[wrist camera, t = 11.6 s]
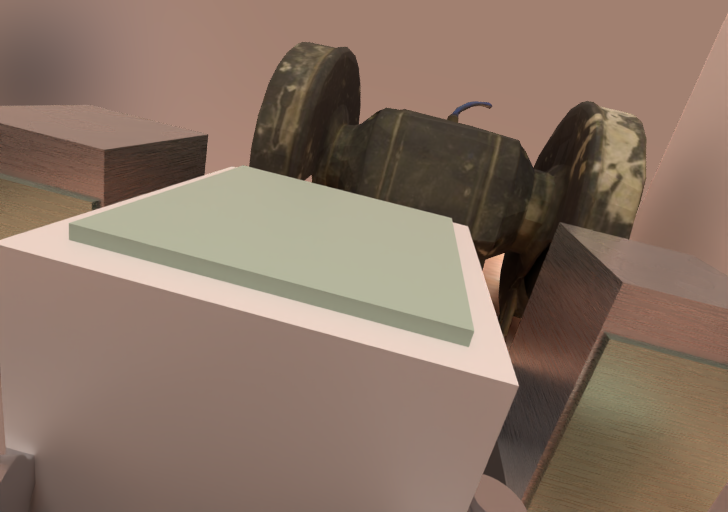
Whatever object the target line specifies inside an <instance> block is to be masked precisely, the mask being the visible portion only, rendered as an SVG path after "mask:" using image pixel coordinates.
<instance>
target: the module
mask: <svg viewBox="0 0 728 512" xmlns="http://www.w3.org/2000/svg"><path fill="white" fill-rule="evenodd" d="M0 373H1V387H2V401H3V415H4V430H5V444H6V447H7V448H10V449H13V450H17V451H20V452H24V453H28V454H32V455H34V457H35V480H36V484H35V487H34V490H33V493H32V497H31V502H30V508H29V512H467V511H468V508H469V506H470V503H471V501H472V499H473V496H474V494H475V491H476V489H477V487H478V484H479V482H480V479H481V477H482V474H483V472H484V470H485V467H486V465H487V462H488V460H489V457H490V455H491V453H492V450H493V448H494V445H495V443H496V441H497V438H498V436H499V433H500V431H501V428H502V426H503V424H504V421H505V419H506V416H507V414H508V411H509V409H510V407H511V404H512V402H513V399H514V397H515V395H516V392H517V390H518V387H519V384H518V381H517V378H516V375H515V372H514V369H513V366H512V362H511V359H510V356H509V353H508V350H507V347H506V344H505V341H504V337H503V334H502V331H501V328H500V325H499V322H498V319H497V316H496V312H495V309H494V306H493V303H492V300H491V297H490V294H489V291H488V287H487V284H486V281H485V278H484V275H483V272H482V269H481V266H480V262H479V259H478V256H477V253H476V250H475V247H474V244H473V241H472V237H471V234H470V231H469V228H468V226H465V225H461V224H457V223H453V222H452V218H449V217H445V216H441V215H437V214H433V213H429V212H425V211H422V210H418V209H414V208H410V207H406V206H402V205H398V204H394V203H390V202H386V201H382V200H378V199H374V198H370V197H366V196H362V195H358V194H354V193H350V192H346V191H342V190H339V189H335V188H331V187H327V186H323V185H319V184H315V183H311V182H306V181H303V180H299V179H295V178H291V177H287V176H283V175H279V174H275V173H271V172H267V171H263V170H259V169H256V168H252V167H248V166H241V167H238V168H236V167H229V168H226V169H223V170H220V171H216V172H213V173H210V174H207V175H204V176H201V177H197V178H194V179H191V180H188V181H185V182H182V183H178V184H175V185H172V186H169V187H166V188H163V189H160V190H156V191H153V192H150V193H147V194H144V195H141V196H137V197H134V198H131V199H128V200H125V201H122V202H118V203H115V204H112V205H109V206H106V207H103V208H99V209H96V210H93V211H90V212H87V213H84V214H80V215H77V216H74V217H71V218H68V219H65V220H61V221H58V222H55V223H52V224H49V225H46V226H43V227H39V228H36V229H33V230H30V231H27V232H24V233H20V234H17V235H14V236H11V237H8V238H5V239H1V240H0Z"/></svg>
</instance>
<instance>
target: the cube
mask: <svg viewBox="0 0 728 512" xmlns="http://www.w3.org/2000/svg"><path fill="white" fill-rule="evenodd" d="M629 240H633V241H637V242H641V243H645V244H649V245H653V246H657V247H661V248H665V249H669V250H673V251H677V252H681V253H685V254H689V255H693V256H695V257H697V258H698V259H700V260H702V261H703V262H705V263H707V264H709V265H710V266H712V267H714V268H715V269H717V270H719V271H720V272H722V273H724V274H725V275H727V276H728V13H727V16H726V18H725V20H724V22H723V24H722V26H721V29H720V31H719V33H718V35H717V38H716V40H715V42H714V44H713V47H712V49H711V51H710V53H709V55H708V57H707V60H706V62H705V64H704V66H703V68H702V71H701V73H700V75H699V77H698V80H697V82H696V84H695V86H694V88H693V91H692V93H691V95H690V97H689V99H688V102H687V104H686V107H685V108H684V111H683V113H682V115H681V117H680V119H679V122H678V124H677V126H676V128H675V130H674V133H673V135H672V137H671V139H670V142H669V144H668V146H667V148H666V151H665V153H664V155H663V157H662V159H661V161H660V164H659V166H658V168H657V170H656V173H655V175H654V177H653V180H652V181H651V184H650V186H649V188H648V190H647V192H646V195H645V197H644V199H643V201H642V204H641V206H640V208H639V210H638V213H637V215H636V217H635V220H634V224H633V228H632V231H631V235H630V239H629ZM708 512H728V482H727V484H726V485H725V487H724V488H723V490H722V491H721V493H720V494H719V496H718V497H717V498H716V500H715V501H714V503H713V504H712V506H711V507H710V509H709V510H708Z"/></svg>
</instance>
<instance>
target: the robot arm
mask: <svg viewBox="0 0 728 512" xmlns="http://www.w3.org/2000/svg"><path fill="white" fill-rule="evenodd" d="M35 484H36V480H35V457H34V455H32V454H28V453H24V452H20V451H17V450H13V449H10V448H7V447H6V444H5V430H4V415H3V401H2V387H1V373H0V512H29V508H30V502H31V497H32V493H33V490H34V487H35ZM467 512H527V510H526V508H525V506H524V504H523V503H522V501H521V500H520V499H519V498H518V496H517V495H516V494H515V493H514V492H513V491H512V490H511V489H509V488H508V487H507V486H506V481H505V476H504V471H503V466H502V461H501V456H500V451H499V446H498V442H497V441H496V443H495V445H494V448H493V450H492V453H491V455H490V457H489V460H488V462H487V465H486V467H485V470H484V472H483V474H482V477H481V479H480V482H479V484H478V487H477V489H476V491H475V494H474V496H473V499H472V501H471V503H470V506H469V508H468V511H467Z"/></svg>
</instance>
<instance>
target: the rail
mask: <svg viewBox="0 0 728 512" xmlns="http://www.w3.org/2000/svg"><path fill="white" fill-rule="evenodd" d="M207 142H208V134H204V133H200V132H196V131H192V130H188V129H184V128H180V127H176V126H172V125H168V124H164V123H160V122H156V121H152V120H148V119H144V118H140V117H136V116H132V115H128V114H124V113H120V112H116V111H112V110H108V109H104V108H100V107H96V106H92V105H52V106H51V105H49V106H0V240H1V239H5V238H8V237H11V236H14V235H17V234H20V233H24V232H27V231H30V230H33V229H36V228H39V227H43V226H46V225H49V224H52V223H55V222H58V221H61V220H65V219H68V218H71V217H74V216H77V215H80V214H84V213H87V212H90V211H93V210H96V209H99V208H103V207H106V206H109V205H112V204H115V203H118V202H122V201H125V200H128V199H131V198H134V197H137V196H141V195H144V194H147V193H150V192H153V191H156V190H160V189H163V188H166V187H169V186H172V185H175V184H178V183H182V182H185V181H188V180H191V179H194V178H197V177H201V176H204V173H205V162H206V152H207ZM508 353H509V356H510V359H511V362H512V366H513V369H514V372H515V375H516V378H517V381H518V384H519V387H518V390H517V392H516V395H515V397H514V399H513V402H512V404H511V407H510V409H509V411H508V414H507V416H506V419H505V421H504V424H503V426H502V428H501V431H500V433H499V436H498V438H497V442H498V446H499V451H500V456H501V461H502V466H503V471H504V476H505V481H506V486H507V487H508V488H509V489H511V490H512V491H513V492H514V493H515V494H516V495H517V496H518V498H519V499H520V500H521V501H522V503H523V504H524V506H525V508H526V510H527V512H708V510H709V509H710V507H711V506H712V504H713V503H714V501H715V500H716V498H717V497H718V496H719V494H720V493H721V491H722V490H723V488H724V487H725V485H726V484H727V482H728V276H727V275H725V274H724V273H722V272H720V271H719V270H717V269H715V268H714V267H712V266H710V265H709V264H707V263H705V262H703V261H702V260H700V259H698V258H697V257H695V256H693V255H689V254H685V253H681V252H677V251H673V250H669V249H665V248H661V247H657V246H653V245H649V244H645V243H641V242H637V241H633V240H629V239H625V238H621V237H617V236H613V235H609V234H605V233H601V232H597V231H593V230H589V229H585V228H581V227H577V226H573V225H569V224H565V223H561V222H559V225H558V227H557V230H556V232H555V235H554V237H553V240H552V243H551V245H550V248H549V250H548V253H547V255H546V258H545V260H544V263H543V266H542V268H541V271H540V273H539V276H538V278H537V281H536V283H535V286H534V288H533V291H532V294H531V296H530V299H529V301H528V304H527V306H526V309H525V311H524V314H523V316H522V319H521V322H520V324H519V327H518V329H517V332H516V334H515V337H514V339H513V342H512V344H511V347H510V350H509V352H508Z"/></svg>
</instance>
